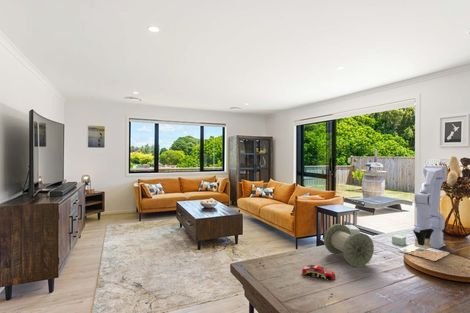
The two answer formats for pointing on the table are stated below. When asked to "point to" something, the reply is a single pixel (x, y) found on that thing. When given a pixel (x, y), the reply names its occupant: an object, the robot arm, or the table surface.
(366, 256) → the spool
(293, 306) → the table surface
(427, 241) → the maple block
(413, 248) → the baseplate
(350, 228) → the ink box
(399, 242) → the sage block
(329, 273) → the race car
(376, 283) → the table surface
